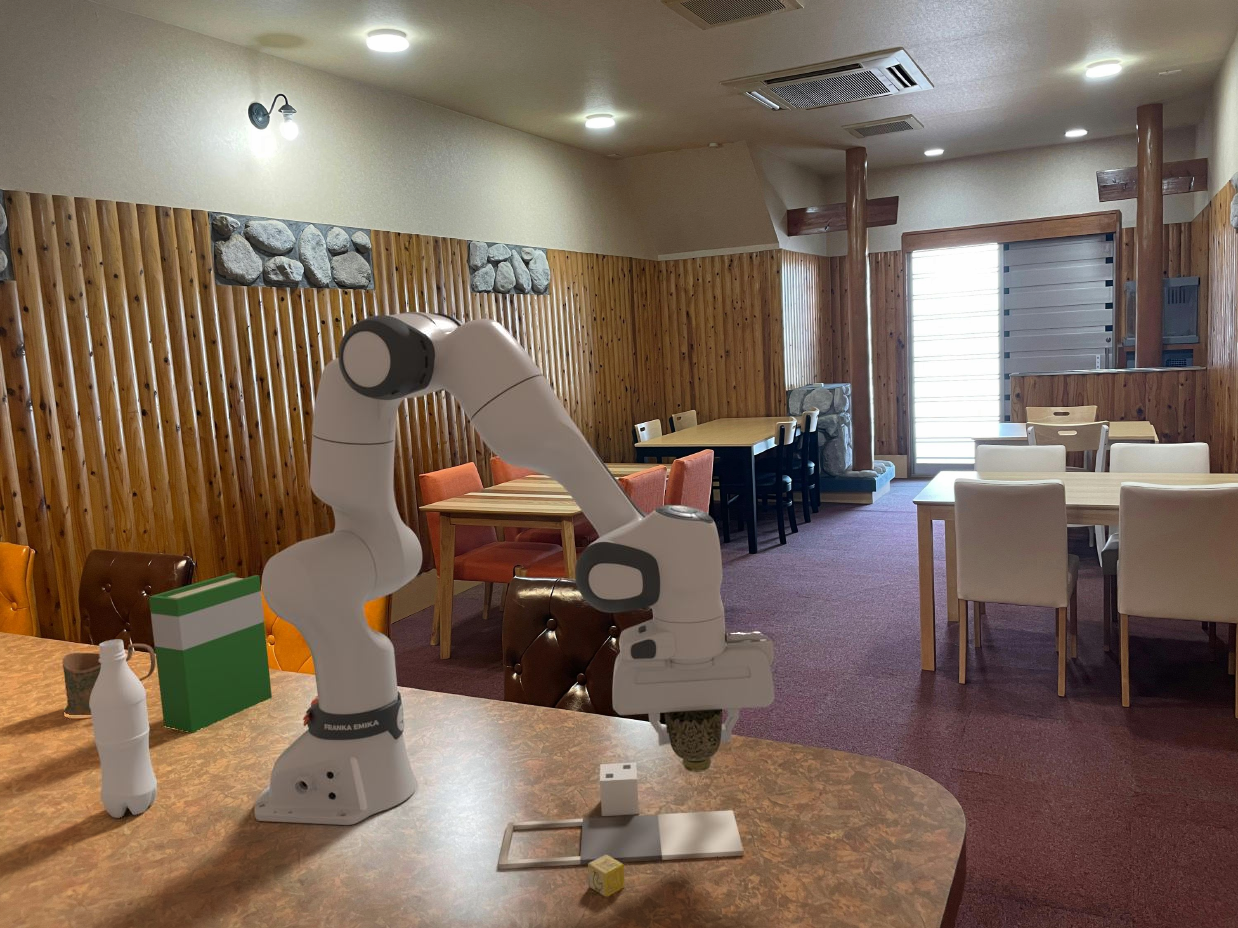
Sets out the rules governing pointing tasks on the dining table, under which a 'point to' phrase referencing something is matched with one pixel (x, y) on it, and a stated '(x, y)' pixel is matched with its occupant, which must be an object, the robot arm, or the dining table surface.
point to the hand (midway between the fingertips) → (694, 741)
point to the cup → (695, 736)
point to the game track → (639, 838)
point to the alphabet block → (606, 875)
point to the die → (619, 789)
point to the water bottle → (122, 734)
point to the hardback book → (210, 650)
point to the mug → (88, 677)
